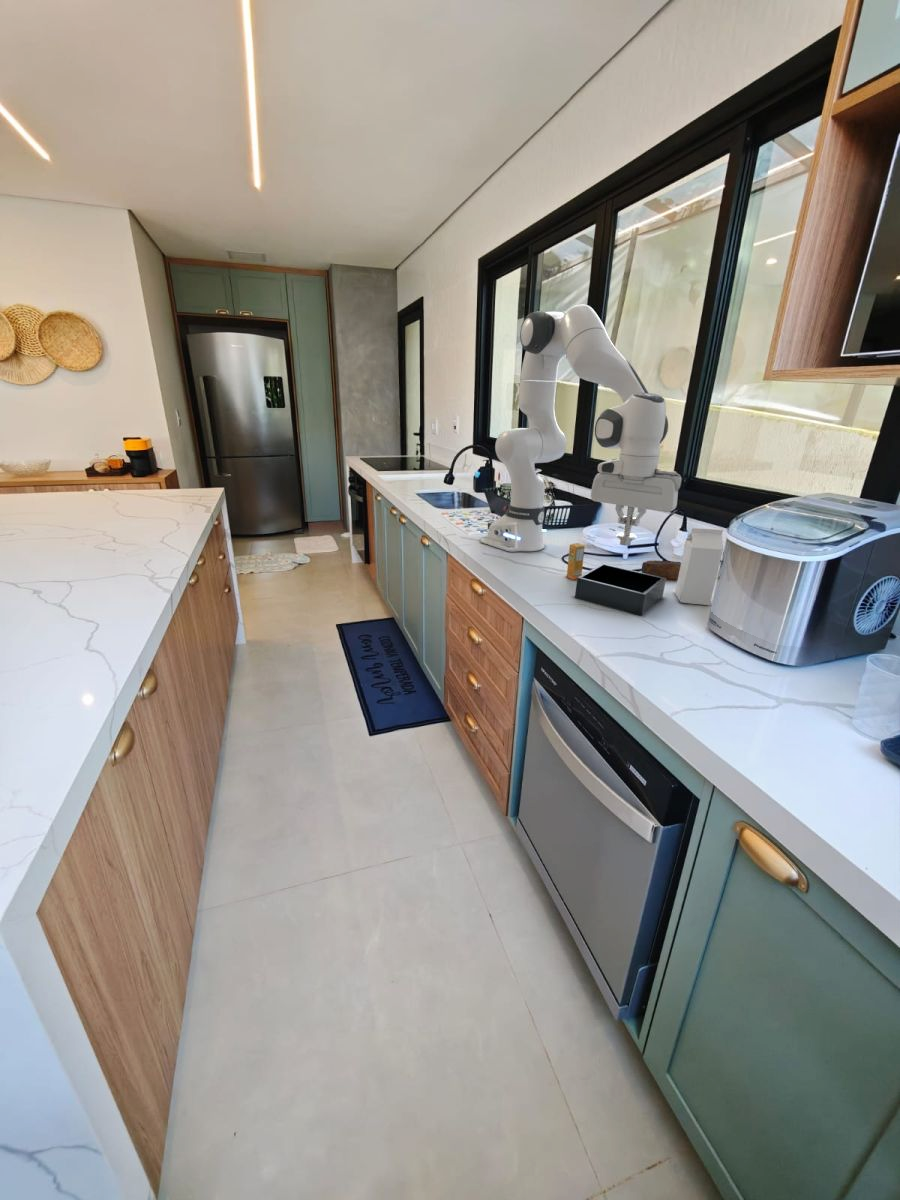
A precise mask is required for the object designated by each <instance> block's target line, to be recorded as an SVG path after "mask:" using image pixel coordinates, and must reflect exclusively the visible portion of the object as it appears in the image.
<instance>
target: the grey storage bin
mask: <svg viewBox="0 0 900 1200" xmlns="http://www.w3.org/2000/svg"><path fill="white" fill-rule="evenodd" d="M666 582H667V579H666V578H663V577H659V576H654V575H650V574H646V573H642V571H637V570H634V569H633V570H632V569H627V568H624V567H619V566H615V565H611V564H606V563H601V564H599V565H597V566H595V567H594V568H592V569H590V570H588V571H586V572H585V573H582V575H581V576H579V577H578V578H577V579H576V583H575V584H576V585H575V591H574V592H575V593H574V598H575V599H578V600H582V601H586V602H589V603H593V604H597V605H600V606H604V607H607V608H611V609H614V610H618V611H621V612H624V613H625V612H626V613H629V614H632V615H635V616H639V617H642V616H643V615H644V614H646V613H647V612H648V611H649V610H650V609H652V608H653V607H654V606H655V605H656V604H657V603H658V602H660V601H661V600H662V599H663V597H664V592H665V587H666Z"/></svg>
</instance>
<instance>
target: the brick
mask: <svg viewBox="0 0 900 1200" xmlns="http://www.w3.org/2000/svg"><path fill="white" fill-rule="evenodd" d="M680 566H681V561H675V560H674V561H671V560H646V561H643V562H642V563H641V573H646V574H650V575H654V576H659V577H663V578H666V581H667V580H668V581H678V576H679V571H680Z"/></svg>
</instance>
